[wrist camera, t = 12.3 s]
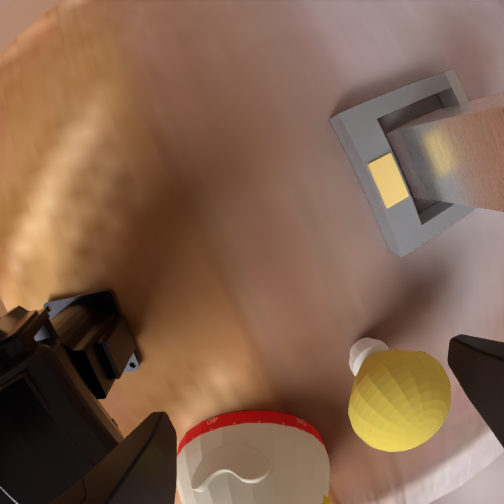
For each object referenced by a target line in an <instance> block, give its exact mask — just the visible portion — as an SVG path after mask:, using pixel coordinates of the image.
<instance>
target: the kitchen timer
mask: <svg viewBox="0 0 504 504" xmlns="http://www.w3.org/2000/svg"><path fill="white" fill-rule="evenodd" d="M329 479H330V463H329V457H328V454H327V451H326V448H325V445H324V443H323V440H322V438H321V435H320V433H319V432H318V431H317V430H316V429H315V428H314V427H313V426H312V425H311V424H310V423H308V422H306V421H304V420H302V419H300V418H298V417H295V416H293V415H290V414H285V413H280V412H275V411H270V410H244V411H238V412H232V413H226V414H221V415H219V416H216V417H213V418H211V419H208V420H205V421H203V422H201V423H200V424H198V425H197V426H195V427H194V428H193V429H191V430H190V431H188V432H187V433H186V435H185V436H184V438H183V439H182V441H181V442H180V444H179V447H178V453H177V482H176V484H177V488H178V492H179V496H180V499H181V503H182V504H329V502H330V500H329V499H328V498H327V497H328V489H329Z"/></svg>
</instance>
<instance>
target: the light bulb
mask: <svg viewBox="0 0 504 504" xmlns="http://www.w3.org/2000/svg"><path fill="white" fill-rule="evenodd" d="M349 365H350V369H351V371H352V372H353V374H354V376H355V379H354V382H353V386H352V391H351V396H350V400H349V408H348V415H349V418H350V421H351V424H352V427H353V429H354V431H355V433H356V434H357V435H358V436H359V437H360V438H361V439H362V440H363V441H365V442H366V443H367V444H368V445H370V446H371V447H373V448H376V449H380V450H384V451H389V452H396V451H405V450H409V449H412V448H414V447H417V446H418V445H420V444H422V443H424V442H425V441H427V440H428V439H429V438H431V437H432V436H433V435H434V434H435V433H436V432H437V430H438V429H439V428H440V427H441V425H442V424H443V422H444V420H445V418H446V416H447V413H448V410H449V408H450V403H451V385H450V381H449V378H448V376H447V374H446V372H445V370H444V369H443V367H442V365H441V364H440V363H439V361H438V360H436V359H435V358H434V357H432V356H430V355H429V354H427V353H425V352H420V351H409V350H398V349H393V350H390V349H389V348H388V346H387V345H386V344H385V343H384V342H382V341H381V340H377V339H372V338H368V337H366V338H362V339H360V340H358V341H357V342H355V343H354V344H353V346H352V347H351V350H350V360H349Z"/></svg>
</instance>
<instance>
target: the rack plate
mask: <svg viewBox="0 0 504 504" xmlns="http://www.w3.org/2000/svg"><path fill="white" fill-rule="evenodd" d="M436 93H437V94H438V96H439V98H440V100H441V102H442V104H443V106H444V108H446V107H449V106H453V105H457V104H460V103H464V102H468V101H469V99H468V97H467V94H466V92H465V90H464V88H463V86H462V84H461V82H460V80H459V78H458V76H457V74H456V72H455V70H454V69H451V70H448V71H445V72H442V73H439V74H437V75H434V76H431V77H428V78H425V79H423V80H420V81H417V82H414V83H412V84H409V85H407V86H404V87H401V88H399V89H396V90H394V91H391V92H389V93H386V94H384V95H381V96H379V97H376V98H374V99H371V100H369V101H367V102H364V103H362V104H359V105H357V106H355V107H352V108H350V109H348V110H346V111H343V112H341V113H339V114H337V115H335V116H334V117H332V118H330V119H329V121H330V123H331V125H332V127H333V129H334V131H335V133H336V135H337V137H338V138H339V140H340V142H341V144H342V146H343V148H344V150H345V152H346V154H347V156H348V158H349V160H350V162H351V164H352V167H353V169H354V171H355V173H356V175H357V177H358V179H359V181H360V184H361V186H362V188H363V190H364V192H365V195H366V197H367V199H368V201H369V204H370V206H371V208H372V211H373V213H374V215H375V218H376V220H377V222H378V225H379V227H380V230H381V232H382V235H383V237H384V240H385V242H386V245H387V247H388V250H389V251H390V252H392V253H394V254H396V255H398V256H400V257H404V256H405V255H407V254H409V253H410V252H412V251H413V250H415V249H416V248H418V247H420V246H421V245H423V244H424V243H426V242H427V241H429V240H430V239H432V238H433V237H435V236H436V235H438V234H439V233H441V232H442V231H444V230H445V229H447V228H448V227H450V226H451V225H453V224H454V223H455V222H457V221H458V220H460V219H461V218H463V217H464V216H466V215H467V214H468V213H470V212H471V211H473V210H474V209H475V208H477V207H473V206H467V205H461V204H454V203H448V202H441V201H439V202H438V203H436V204H434V205H433V206H431V207H430V208H428V209H426V210H425V211H423V212H421V213H420V214H418V213H417V210H416V208H415V205H414V202H413V200H412V197H411V195H410V192H409V189H408V187H407V184H406V182H405V180H404V177H403V175H402V172H401V170H400V168H399V165H398V163H397V161H396V159H395V156H394V154H393V152H392V150H391V147H390V145H389V143H388V141H387V139H386V137H385V135H384V133H383V131H382V129H381V126H380V124H379V122H378V120H377V119H378V118H380V117H382V116H384V115H387V114H389V113H391V112H394V111H396V110H398V109H400V108H403V107H405V106H407V105H410V104H412V103H415V102H417V101H419V100H422V99H424V98H427V97H429V96H431V95H434V94H436Z"/></svg>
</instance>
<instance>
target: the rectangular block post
mask: <svg viewBox="0 0 504 504" xmlns="http://www.w3.org/2000/svg"><path fill="white" fill-rule="evenodd" d="M386 136H387V138H388V140H389V142H390V144H391V146H392V148H393V150H394V153H395V155H396V157H397V159H398V161H399V164H400V166H401V168H402V171H403V173H404V175H405V178H406V180H407V182H408V185H409V187H410V190H411V192H412V195H413V197H414V198H419V199H427V200H434V201H441V202H448V203H454V204H461V205H467V206H473V207H479V208H485V209H491V210H496V211H502V212H504V93H500V94H496V95H492V96H488V97H484V98H480V99H476V100H472V101H468V102H464V103H460V104H457V105H453V106H449V107H446V108H442V109H439V110H435V111H432V112H430V113H428V114H426V115H424V116H422V117H419V118H417V119H415V120H413V121H411V122H409V123H407V124H405V125H403V126H401V127H398V128H396V129H394V130H392V131H390V132H388V133H386Z"/></svg>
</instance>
